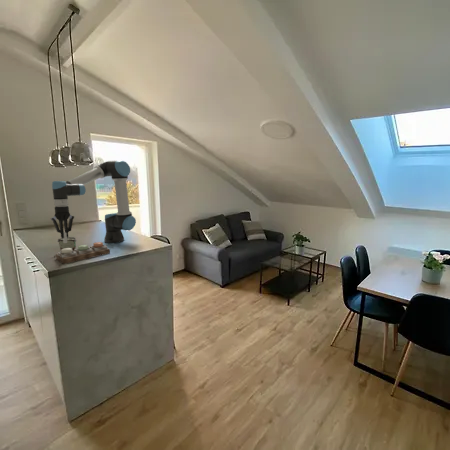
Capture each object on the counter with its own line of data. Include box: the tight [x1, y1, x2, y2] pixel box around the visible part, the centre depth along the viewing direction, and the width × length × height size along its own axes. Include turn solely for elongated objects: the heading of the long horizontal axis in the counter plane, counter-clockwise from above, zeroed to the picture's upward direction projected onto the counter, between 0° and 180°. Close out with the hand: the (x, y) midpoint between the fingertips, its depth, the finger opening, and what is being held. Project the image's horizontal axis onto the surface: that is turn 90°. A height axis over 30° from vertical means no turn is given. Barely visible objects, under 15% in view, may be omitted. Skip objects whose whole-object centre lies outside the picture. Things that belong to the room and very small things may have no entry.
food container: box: [57, 236, 77, 251], centre depth 188 cm, size 12×6×10 cm, turn 92°
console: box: [55, 244, 111, 265], centre depth 178 cm, size 29×14×5 cm, turn 139°
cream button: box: [60, 248, 72, 254], centre depth 170 cm, size 6×6×2 cm
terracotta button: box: [92, 241, 104, 248], centre depth 185 cm, size 6×6×2 cm
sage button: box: [77, 244, 89, 251], centre depth 178 cm, size 6×6×2 cm
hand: (65, 242), depth 169 cm, fingers closed
